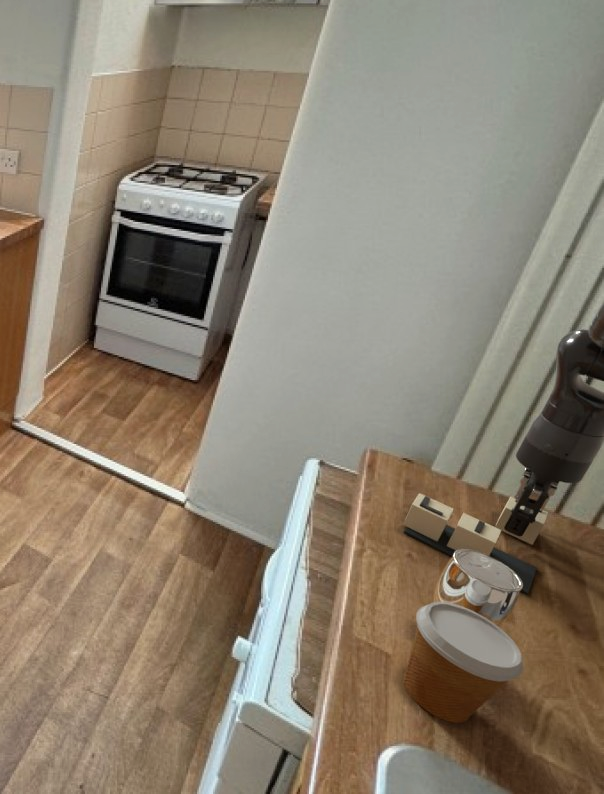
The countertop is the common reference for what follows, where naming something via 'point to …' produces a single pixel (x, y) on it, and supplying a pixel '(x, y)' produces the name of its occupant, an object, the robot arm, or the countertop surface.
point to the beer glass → (479, 585)
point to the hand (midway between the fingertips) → (516, 521)
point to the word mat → (517, 565)
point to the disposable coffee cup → (458, 661)
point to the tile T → (532, 528)
